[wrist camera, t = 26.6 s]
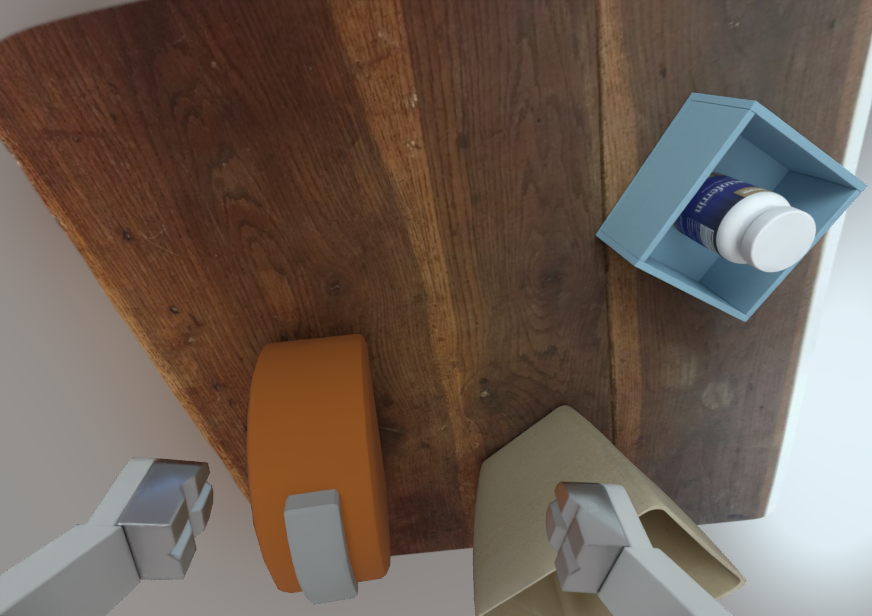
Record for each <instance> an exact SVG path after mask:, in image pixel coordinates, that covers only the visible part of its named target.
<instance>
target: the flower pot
mask: <svg viewBox="0 0 872 616" xmlns="http://www.w3.org/2000/svg"><path fill="white" fill-rule="evenodd" d="M561 481H564V482H588V483H599V484H618V485H622V486H623V487H624V488H625V490H626V492H627V494H628V496H629V498H630V500H631V502H632V505H633V507H634V509H635V511H636V513H637V515H638V517H639V519H640V521H641V524H642V526H643V528H644V530H645V532H646V534H647V536H648V538H649V540H650V543H651V545H652V547H653V548H659V549H660V550H661V551H662V552H664V553H665V554H666V555H667V556H668V557H669V558H670V559H671V560H672V561H674V562H675V563H676V564H677V565H678V566H679V567H680V568H681V569H682V570H684V571H685V572H686V573H687V574H688V575H689V576H690V577H691V578H692V579H694V580H695V581H696V582H697V583H698V584H699V585H700V586H701V587H702V588H704V589H705V590H706V591H707V592H708V593H709V594H710V595H711V596H712V597H714V598H715V599H716V600H717V601H718V600H719V599H721V598H723V597H725V596H727V595H728V594H730V593H732V592H734V591H736V590H738V589H739V588H741V587H742V586H743V585H744V584H745V582H746V580H745V578H744V577H743V576H742V574H741V573H740V572H739V571H738V570H737V568H736V567H735V566H734V565H733V564H732V563H731V562H730V561H729V559H728V558H727V557H726V556H725V555H724V554H723V553H722V552H721V551H720V549H719V548H718V547H717V546H716V545H715V544H714V543H713V542H712V541H711V540H710V539H709V538H708V537H707V536H706V534H705V533H704V532H703V531H702V530H701V529H700V528H699V527H698V526H697V525H696V524H695V523H694V522H693V521H692V520H691V519H690V518H689V517H688V516H687V515H686V514H685V513H684V512H683V511H682V510H681V509H680V508H679V507H678V506H677V505H676V504H675V503H674V502H673V501H672V500H671V499H670V498H669V497H668V496H667V495H666V494H665V493H664V492H663V491H662V490H661V489H660V488H659V487H658V486H657V485H655V484H654V483H653V482H652V481H651V480H650V479H649V478H648V477H647V476H646V475H645V474H643V473H642V472H641V471H640V470H639V469H638V468H637V467H636V466H634V465H633V464H632V463H631V462H630V461H629V460H628V459H627V458H626V457H625V456H624V455H623V454H622V453H621V452H620V451H619V450H618V449H617V448H616V447H615V446H614V445H613V444H612V443H611V442H610V441H609V440H608V439H607V438H606V437H605V436H604V435H603V434H602V433H601V432H600V431H599V430H598V429H596V428H595V427H594V426H593V425H592V424H591V423H590V422H589V421H588V420H586V419H585V418H584V417H583V416H582V415H580V414H579V413H578V412H577V411H575V410H574V409H573V408H572V407H570V406H568V405H563V406H560V407H558V408H556V409H555V410H554V411H552V412H551V413H550V414H548V415H547V416H545V417H544V418H543V419H541V420H540V421H538V422H537V423H536V424H534V425H533V426H532V427H530V428H529V429H528V430H526V431H525V432H523V433H522V434H521V435H519V436H518V437H517V438H515V439H514V440H512V441H511V442H510V443H508V444H507V445H506V446H504V447H503V448H501V449H500V450H499V451H497V452H496V453H495V454H493V455H492V456H491V457H489V458H488V459H486V460H485V461H484V462H483V463H482V466H481V470H480V475H479V481H478V488H477V496H476V505H475V515H474V532H473V580H474V601H475V602H474V603H475V614H476V616H613V615H612V614H611V612H610V611H609V610H608V609H607V607H606V606H605V605H604V603H603V602H602V601H601V600H600V598H599V597H598V596H597V595H598V593H582V592H566V591H562V589H561V585H560V582H559V578H558V574H557V571H556V567H555V563H554V562H555V560H556V557H557V555H558V553H557V552H556V551H555V550H554V548H553V547H552V546H551V545H550V544H549V541H548V537H547V532H546V512H547V509H548V506H549V503H551V502H552V501H554V500H555V499H556V496H555V492H554V491H555V488H556V486H557V484H558V483H559V482H561Z"/></svg>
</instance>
